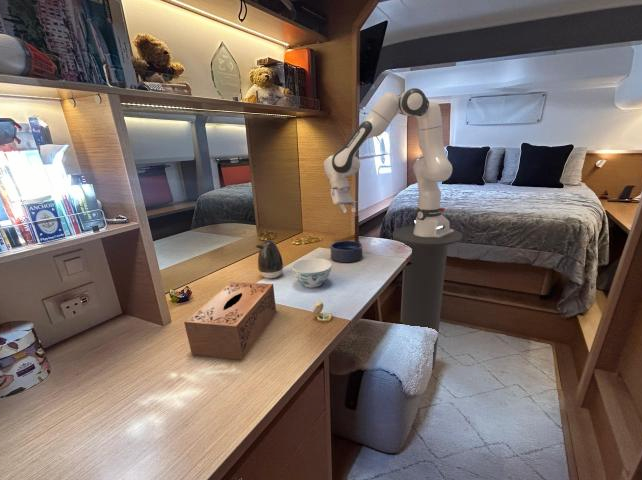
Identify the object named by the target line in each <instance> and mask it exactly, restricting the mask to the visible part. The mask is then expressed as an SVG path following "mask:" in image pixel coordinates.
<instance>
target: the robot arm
mask: <svg viewBox="0 0 642 480" xmlns="http://www.w3.org/2000/svg"><path fill="white" fill-rule="evenodd" d="M398 114H400V115H402V116H407V117H413V116H414V117H415V118H416V120H417V132H418V148H419V150H420V151H421V152H422V155H423V157H421V158H419V159H417V160H416V161H415V162H414V164H413V168H412V170H413V173H414V176H415V178H416V183H417V190H418V201H417V208H416V217H415V220H414V226H415V229H414V230H413V231H414V232H413V234H414V235H416V236H420V237H436V238H440V237H443V236H446V235H448V234H451V233H453V232H454V230H455V229H454V230H452V229H453V228H451V227H450V225H451V224H450V221H449V220H448V218H446V217H445V216H444V215H443V214H442V213H445V212H446V208H445V207H441V200H442V199H441V198H442V192H441V191H442V190H440V188H439V184H438V183H440V182H445V181H447V180H449V178H451V176H452V173H453V165H452V163H451V162H450V160H449V159H448V156H447V154H446V153H447V152H446V150H445V146H444V136H443V117H442V110H441V106H440V104H439V103H438V102H436V101H429V100H428V98H427V95H426V94H425V93H424V91H422V90H421V89H420V88H418V87H417V88H416V87H414V88H409V89H406V90H405V91H404V92H402V93H400V94H399V95H397V94H395V93H394V92H391V91H386V92H384V93H383V94H382V95H381V96H380V97H379V98H378V99H377V100H376V102H375V104H374V105H373V106H372V108H371V109H370V111H369V112H368V114H367V115H366V117H365V118H364V119H363V120H362V122H361V123H360V125H358V127H357V128H356V130H354V132H353V133H352V134H351V136H350V137H349V139H348V140H347V141H346V143H345V144H344V145H343V146H342V148H340V149H339V150H338V151H336V152H335V153H334V154H331V155H330V156H328V157H327V158H326V159H325V160H324V161H323V169H324V172H325V175H326V178H327V179H328V181H329V185H330V197H331V200H332V203H333V205H334V206H339V208H340V209H341V211H342V212H343V214H347V213H348V209H347V207H345V206H350V207H351V212H352V213H356V212H357V209H356V208H357V207H356V203H355V204H354V200H353V198H352V197H351V195H350V193H349V192H350V185H349V183H350V182H349V180H348V178H347V177H349V176H348V175H350V176H352V175H355V174H357V173H358V172H359V170H360V168H361V162H360V159H359V157H357V156H356V157H355V155H356V154H357V152H358V151H359V149H361V148H362V146H363V144H364V143H365V142H366V141H367V140H368V139H372V138H375V137H379V136H381V135H382V134H383V133H384V132H385V131H386V130H387V128H388V127H389V126H390V125H391V123H392V121H393V120H394V118H395V117H396V116H397V115H398ZM354 173H355V174H354ZM351 174H352V175H351ZM348 188H349V189H348ZM355 202H357V201H355ZM357 203H358V202H357ZM352 206H353V207H352ZM450 228H451V229H450Z"/></svg>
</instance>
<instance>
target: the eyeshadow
mask: <svg viewBox="0 0 642 480" xmlns="http://www.w3.org/2000/svg"><path fill="white" fill-rule="evenodd" d="M323 309H324V303H323V302H321V301H318V302H317V303H315V305H314V307H313V309H312V313H313V315H314V316H316V320H317V321H318V322H321V323H327V322H330V321H332V315H331V314H330V313H327V312H322V311H323Z"/></svg>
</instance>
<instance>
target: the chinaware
mask: <svg viewBox="0 0 642 480" xmlns="http://www.w3.org/2000/svg"><path fill="white" fill-rule="evenodd" d="M332 267H333V263H332V262H331V261H330V260H328V259H324V258H317V257H316V258H315V257H313V258H304V259H300V260H298V261H295V262H294V263H292V265H291V270H292V273H293V275H294V276H295V278H296V280H298V281H299V282H300V283H302V284H303V285H304V286H305V287H306V288H318V287H320V286H321V285H322V284H323V282H325V281H326V280H327V279H328V277H329V276H330V274H331V271H332Z"/></svg>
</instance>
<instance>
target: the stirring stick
mask: <svg viewBox="0 0 642 480" xmlns="http://www.w3.org/2000/svg"><path fill="white" fill-rule="evenodd" d="M354 241H356V242H359V243H361V241H360V215H358V214H355V215H354Z"/></svg>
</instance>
